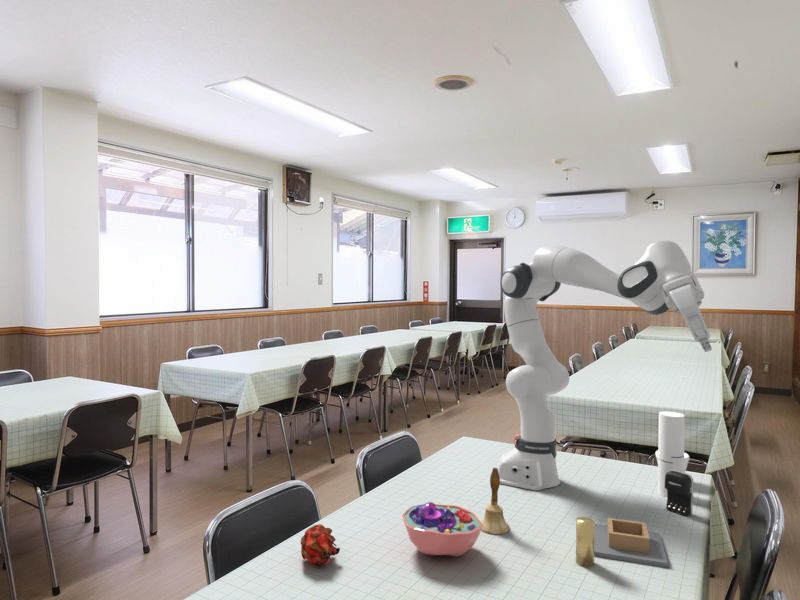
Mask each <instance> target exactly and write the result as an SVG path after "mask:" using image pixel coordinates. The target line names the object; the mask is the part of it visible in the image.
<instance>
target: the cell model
mask: <svg viewBox="0 0 800 600" xmlns="http://www.w3.org/2000/svg"><path fill="white" fill-rule="evenodd" d="M401 517H402V521H403V524H404V527H405V528H406V532H407V535H408V537H409V540H410V542H411V543H412V544H413V545H414V547H415V548H416V549H417V550H418V551H419V552H420V553H421V554H425V555H428V556H449V557H450V556H451V557H460V556H462V555H463V554H465V553H466V552H468V551H470V549H472V547H473V546H474V545H475V544H476V542H477V540H478V538H479V537H480V533H481V531H482V530H481V529H482V523H481V520H480V519H479V517H477V516H476V514H475V513H474V512H472V511H470V510H468V509H466V508H464V507H462V506H460V505H452V504H451V505H450V504H437V503H434V502H430V501H428V502H425V503H423V504H422V503H421V504H417V505H413V506H411V507H409V508H407V509H406V510H405V511H404V512H403V513H402V515H401Z"/></svg>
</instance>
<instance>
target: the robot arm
mask: <svg viewBox="0 0 800 600" xmlns="http://www.w3.org/2000/svg"><path fill="white" fill-rule="evenodd" d="M499 282H500V283H499V285H500V287H501V288H500V289H501V290H502V292H503V294H504V295H505V296H506V297H505V298H504V301H503V309H504V311H503V312H504V318H505V324H506V327H507V331H508V332H507V333H508V336H509V340H510V343H511V344H510V345H511V347H512V349H513V351H514V352H515V353H517V354H518V355H519V356H520V357H521V358H522V359H523V361H524V362H525V365H519V366H518V367H515V368H513V369H512V370H510V371H509V372H508V374H507V375H506V379H505V386H506V389H507V392H508V393H509V394H510V395H511V397H513V398H514V400H515V401H516V403H517V406H518V410H519V414H520V434H519V433H517V434H516V435H514V447H512V448H511V449H510V450H508V451H507V452H505V453H503V454H502V455H500V458H499V460H498V461H497V462H498V463H497V467H496V468H497V469H498V473H499V476H500V485H506V486H511V487H515V488H516V487H517V488H521V489H526V490H531V491H540V490H542V489H549V488H553V487H557V486H558V485H560V484H561V480H560V477H559V472H558V469H557V468H558V466H557V455H558V444H557V439H556V416H555V414H554V413H553V411H551V410H550V409H549V407H548V403H547V397H548V396H551V395H556V394H558V393H560V392H562V391H563V390H565V389H566V388H567V387H568V386H569V384H570V383H569V382H570V374H569V371H568V369H567V367H566V366H564V364H562V363H561V362H559V361H558V359H557V358H556V357H555V355H554V354H553V351H552V350H551V349H550V347H549V344H548V343H547V341H546V340H547V339H546V338H545V335H544V331H543V328H542V325H541V320H540V316H539V313H538V310H537V304H538V301H540V302H545V301H546V300H547V299H548V298H549V297H551V296H552V295H554V294H556V292H558V291H559V289H560V288H561V286H562V285H561V284H564V285H568V286H572V287H573V286H574V287H577V288H584V289H589V290H593V291H599V292H604V293H607V294H610V295H614V296H615V297H619V298H622V299H625V300H628V301H629V302H631V303H632V304H634V305H636V306H637V307H639V308H641V309H642V310H643V311H645V312H646V314H650V315H653V316H657V315H658V316H659V315H661V314H664V313H666V312H667V311H668V310H672V311H673V310H674V312H676V313H678V314H682V317H683V319H684V321H685V323H686V325H687V327H688V329H689V331H690V333H691V335H692V337H693V339H694V341H695V342H697V343H699V344H700V345H701V347H702V349H703V352H704V353H707V352H711V351H713V348H712V345H711V344H710V340H709V339H711V334H710V331H709V328H708V327H707V325H706V322H705V320H704V317H703V315H702V313H701V309H700V307H701V305H702V301H703V299H704V298H705V292H704V290H703V288H702V286H701V284H700V282H699V280H698V278H697V276H696V275H695V274H694V273H693V272H692V267H691V263H690V261H689V259H688V257H687V255H686V254H685V252H684V250H683V249H682V248H681V246H679V244H677V242H674V241H671V240H659V241H655V242H653V243H651V244H650V245H648V246H647V247H646V249H645V251H644V253H643V255H642V256H641V257H640V258H639V259H638V260H637V261H636V262H635V263H633V264H632V265H631V266H629V267H627V268H625V269H624V270H623V271H622V272H621V273H617V272H614V271H613V270H611V269H609V268H607V267H606V266H604V265H603V264H601V263H600V262H599V261H597V260H596V258H593V257H592V256H590V255H589V254H587V253H586V252H583V251H581V250H578V249H576V248H575V249H574V248H573V247H568V246H561V245H544V246H540V247H539V248H538V249H537V250H535V252H534V254H533V256H532V261H530V262H529V263H525V262H521V263H518V264H517V265H513V266H511V267H508V268H507V269H505V270H504V272H503V273H502V275H500V281H499ZM491 473H492V471H491V472H490V474H491Z"/></svg>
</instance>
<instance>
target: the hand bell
mask: <svg viewBox="0 0 800 600" xmlns="http://www.w3.org/2000/svg"><path fill="white" fill-rule="evenodd" d="M491 472H492V473H491ZM491 472H490V478H489V483H490V489H491V497H490V504H488V505H486V507H485V511H484V516H483V518H482V519H481V520H480V522H481V523H482V529H481V531H482V532H483V533H485V534H486V533H487V534H491V535H503V534H507V533H508V532H509V531H510V530H511V527H510V524H508V523H507V521H506V520H505V516H504V509H503V507H502V506H500V505H499V504H498V499H499V498H498V492H499V488H500V485H501V484H500V476H499V473H498V469H497V467H493V468H492V470H491Z"/></svg>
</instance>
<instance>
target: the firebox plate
mask: <svg viewBox="0 0 800 600" xmlns="http://www.w3.org/2000/svg"><path fill="white" fill-rule="evenodd" d="M647 526H648V525H647V523H646V522H641V521H634V520H628V519H627V520H626V519H618V518H611V517H607V525H606V524H599V523H594V557H599V558H605V559H611V560H612V559H613V560H619V561H625V562H631V563H637V564H643V565H648V566H649V565H651V566H656V567H663V568H669V563H668V558H667V555H666V552H665V551H666V550H665V548H664V545H663V541H662V538H661V536H660V532H656V531H648V527H647Z"/></svg>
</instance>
